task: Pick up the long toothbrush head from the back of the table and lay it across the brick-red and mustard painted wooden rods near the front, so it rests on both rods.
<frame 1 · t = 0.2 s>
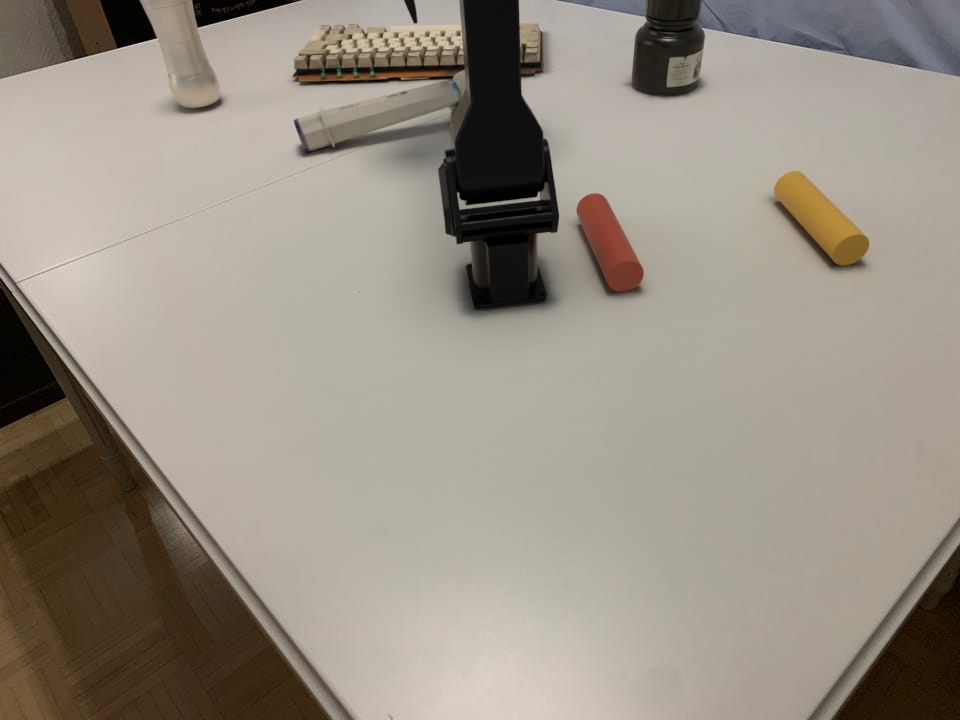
hand: (458, 18, 75), 15 cm above the table, tool pointing down, fingers open, 9 cm apart
plastic bottle: (201, 105, 101), on the table
rod red: (606, 254, 66), on the table
rod yellow: (813, 230, 67), on the table
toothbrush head: (402, 134, 89), on the table
ink bottle: (664, 85, 96), on the table
mechanical keyboard: (421, 59, 110), on the table
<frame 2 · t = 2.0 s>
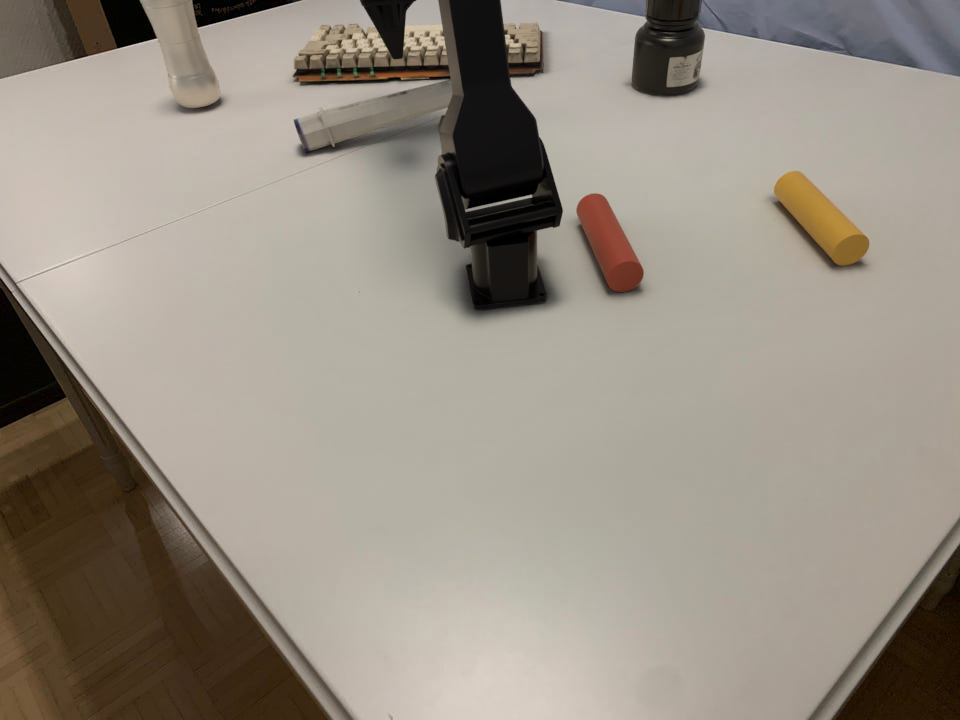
hand: (396, 45, 82), 11 cm above the table, tool pointing down, fingers open, 9 cm apart
nothing on the table moved.
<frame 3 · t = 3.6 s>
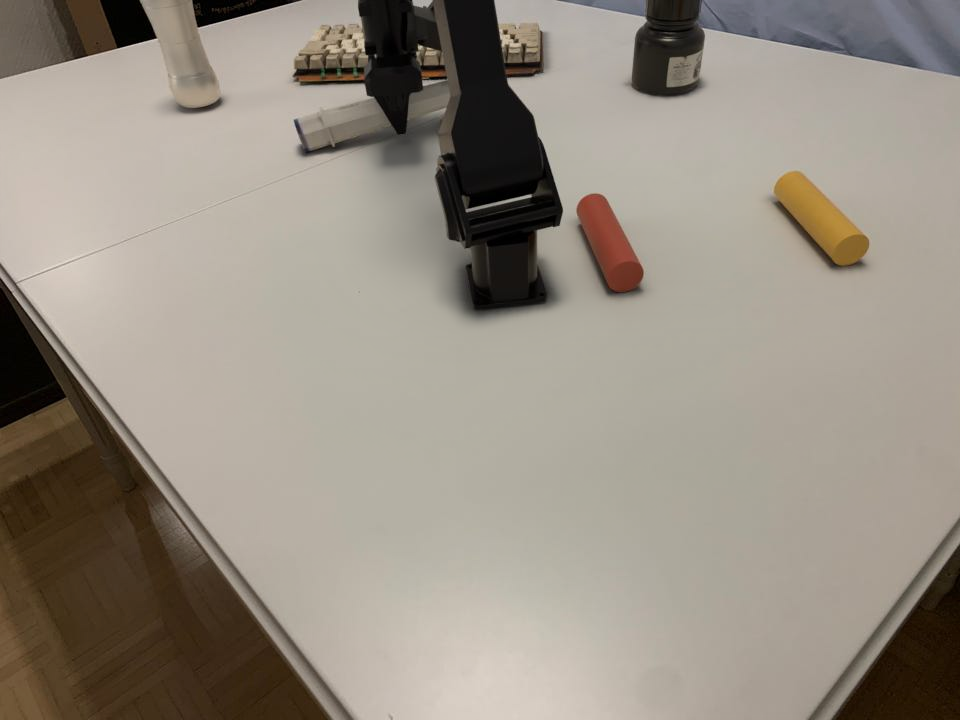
hand: (401, 125, 89), 1 cm above the table, tool pointing down, fingers closed on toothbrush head, 5 cm apart
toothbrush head: (402, 134, 89), on the table, touching gripper
everything else where it was.
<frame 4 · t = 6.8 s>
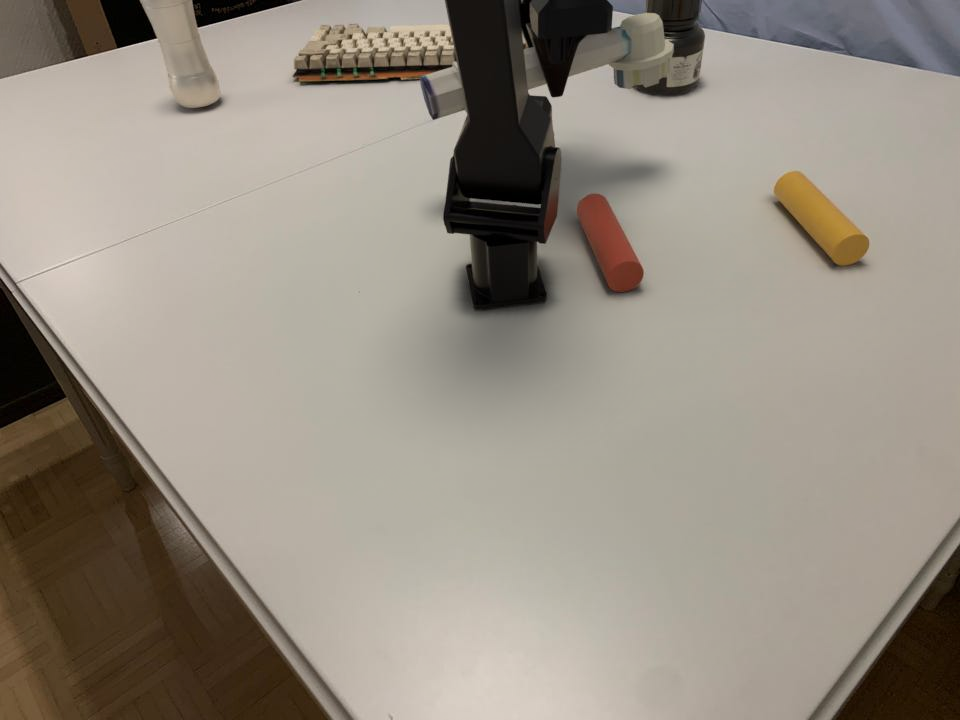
hand: (550, 86, 69), 11 cm above the table, tool pointing down, fingers closed on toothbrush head, 5 cm apart
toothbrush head: (550, 98, 70), point 10 cm above the table, touching gripper
everything else where it was.
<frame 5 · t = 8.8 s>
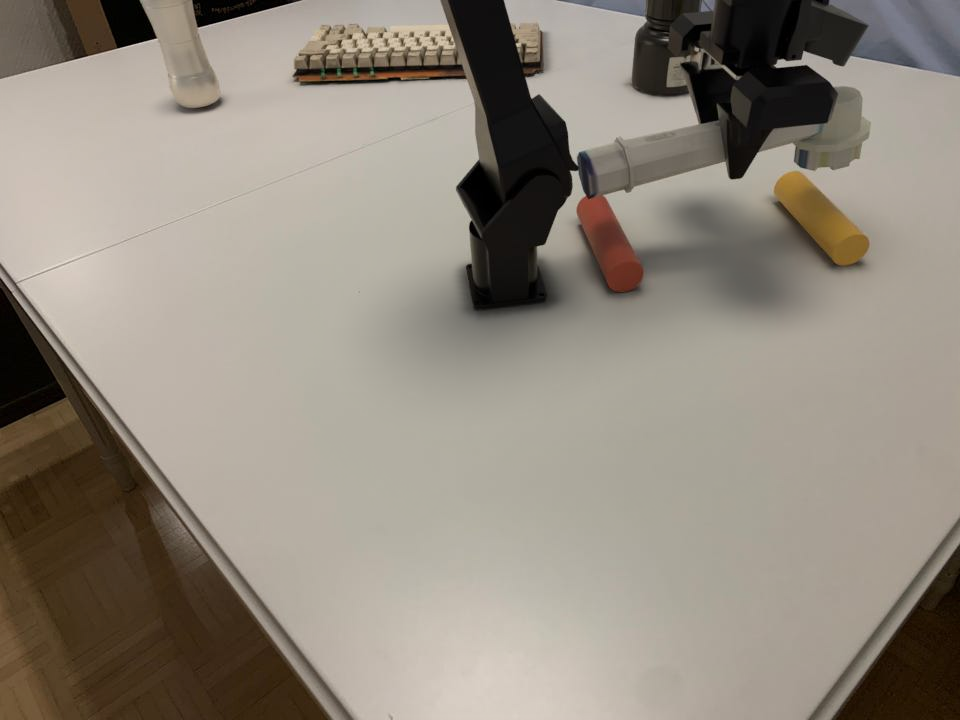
hand: (724, 164, 61), 8 cm above the table, tool pointing down, fingers closed on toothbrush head, 5 cm apart
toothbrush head: (720, 177, 62), point 7 cm above the table, touching gripper
everything else where it was.
when the fingers open (4 cm above the table, at t = 10.1 s): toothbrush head stays where it is, resting on rod red, rod yellow.
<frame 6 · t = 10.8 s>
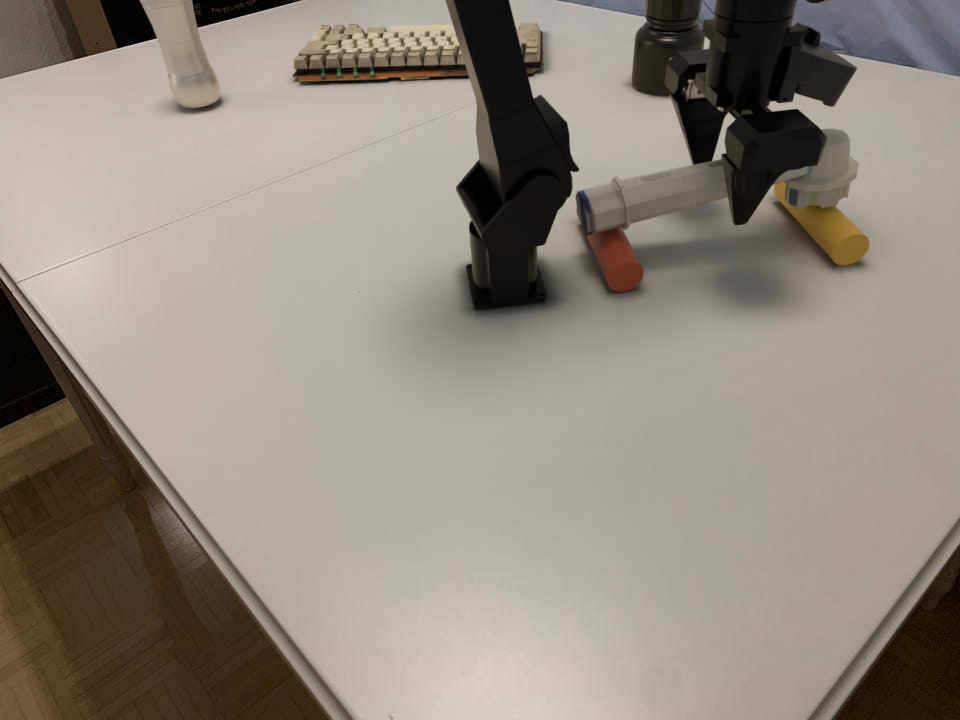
hand: (719, 197, 64), 5 cm above the table, tool pointing down, fingers open, 9 cm apart
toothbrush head: (713, 214, 65), point 3 cm above the table, touching rod red, rod yellow
everything else where it was.
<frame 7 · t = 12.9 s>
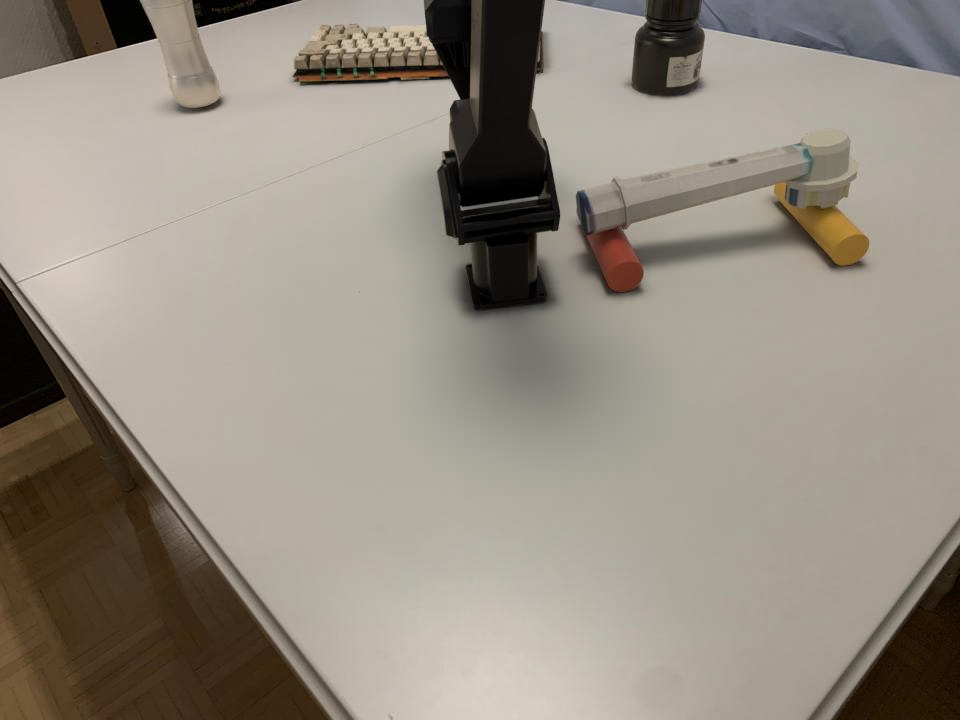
hand: (465, 84, 67), 12 cm above the table, tool pointing down, fingers open, 9 cm apart
nothing on the table moved.
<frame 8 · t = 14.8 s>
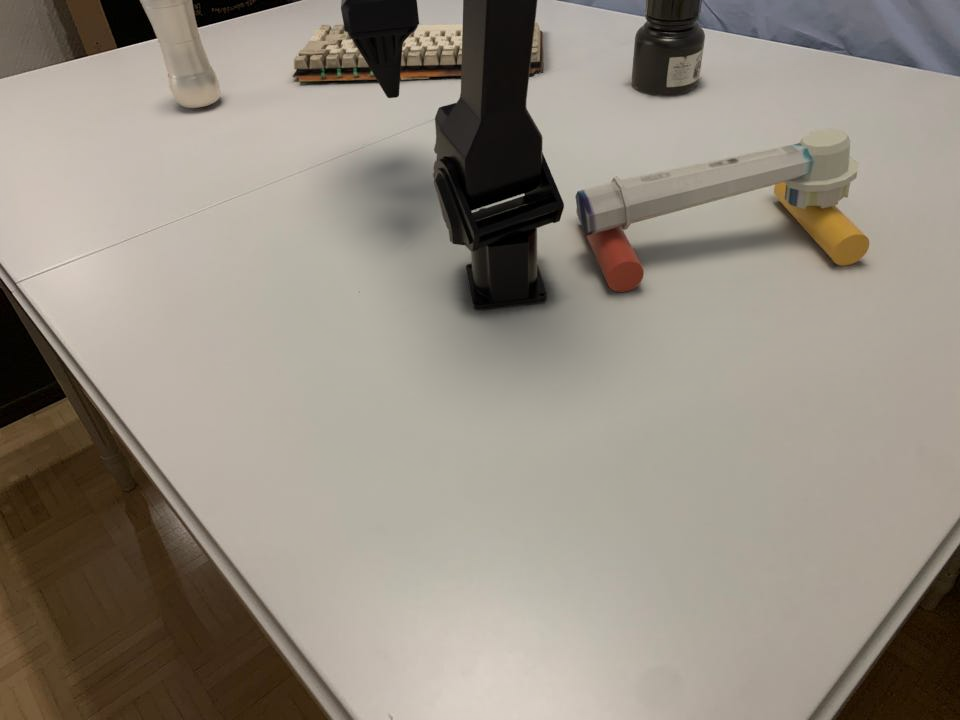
hand: (391, 79, 70), 12 cm above the table, tool pointing down, fingers open, 9 cm apart
nothing on the table moved.
at the end: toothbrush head inside the target area on the rod red (0.3 cm from its centre), point 3.0 cm above the rod red's base; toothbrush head touching rod red, rod yellow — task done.
